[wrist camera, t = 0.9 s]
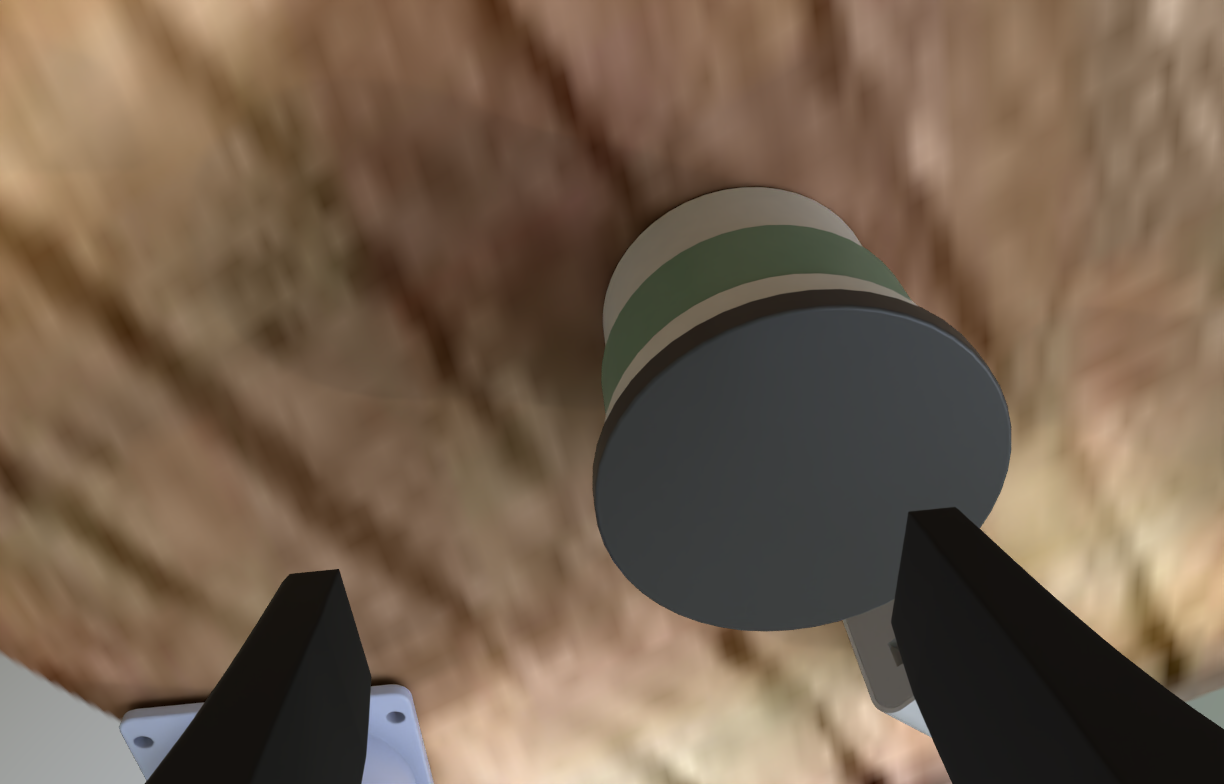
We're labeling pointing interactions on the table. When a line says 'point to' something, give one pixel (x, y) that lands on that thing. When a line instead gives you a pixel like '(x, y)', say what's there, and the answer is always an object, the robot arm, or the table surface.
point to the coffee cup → (779, 416)
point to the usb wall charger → (883, 665)
